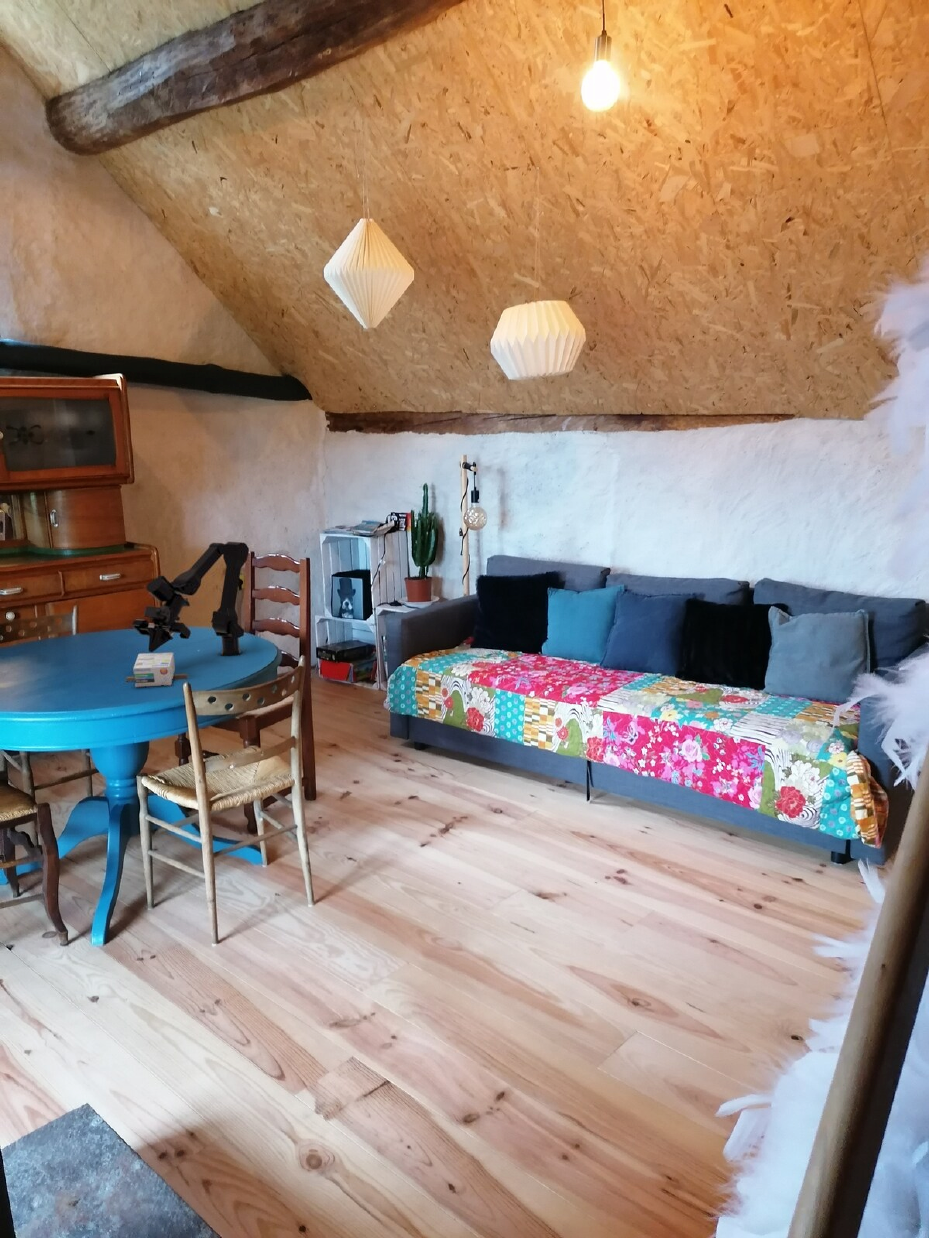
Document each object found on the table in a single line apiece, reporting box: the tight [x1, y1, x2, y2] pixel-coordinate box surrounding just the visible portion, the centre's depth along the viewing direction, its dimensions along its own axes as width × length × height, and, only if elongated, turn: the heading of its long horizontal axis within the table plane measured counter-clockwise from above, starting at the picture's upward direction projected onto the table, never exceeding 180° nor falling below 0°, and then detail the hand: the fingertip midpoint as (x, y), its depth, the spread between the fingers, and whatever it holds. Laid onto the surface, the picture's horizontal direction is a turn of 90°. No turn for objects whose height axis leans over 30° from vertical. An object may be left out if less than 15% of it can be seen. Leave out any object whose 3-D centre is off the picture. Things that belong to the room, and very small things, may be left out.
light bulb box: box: [132, 652, 176, 688], centre depth 255 cm, size 11×7×11 cm
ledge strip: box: [125, 673, 189, 682], centre depth 259 cm, size 2×18×1 cm, turn 101°
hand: (150, 651), depth 259 cm, fingers closed
